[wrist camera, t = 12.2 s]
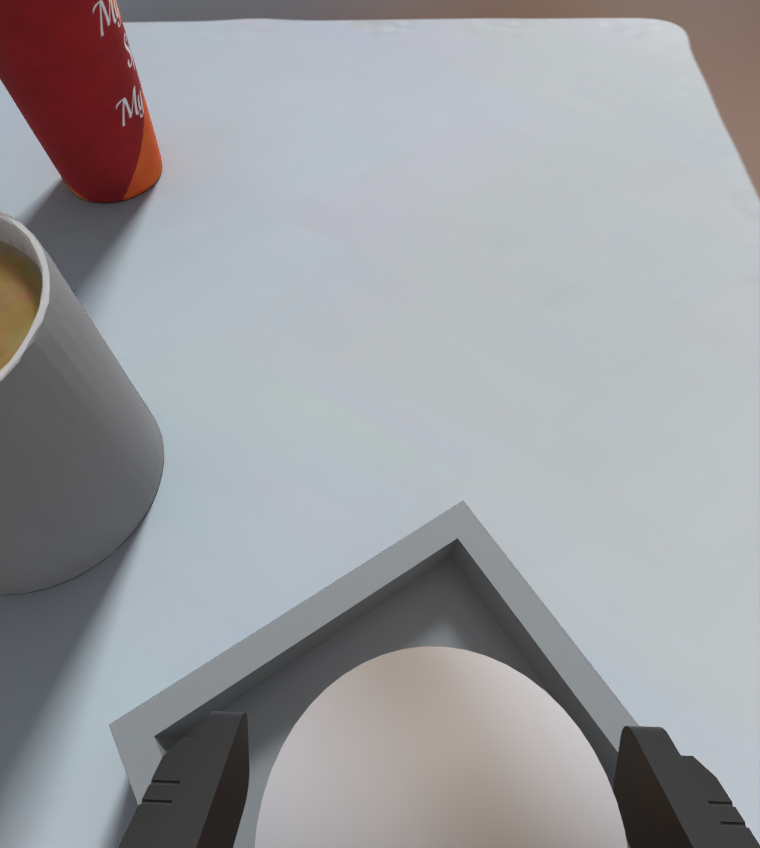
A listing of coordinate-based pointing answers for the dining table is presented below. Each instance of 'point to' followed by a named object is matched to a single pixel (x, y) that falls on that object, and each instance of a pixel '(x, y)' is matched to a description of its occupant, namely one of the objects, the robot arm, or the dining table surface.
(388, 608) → the stoneware tray
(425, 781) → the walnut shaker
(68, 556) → the coffee mug
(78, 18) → the paper cup
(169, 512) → the dining table surface
